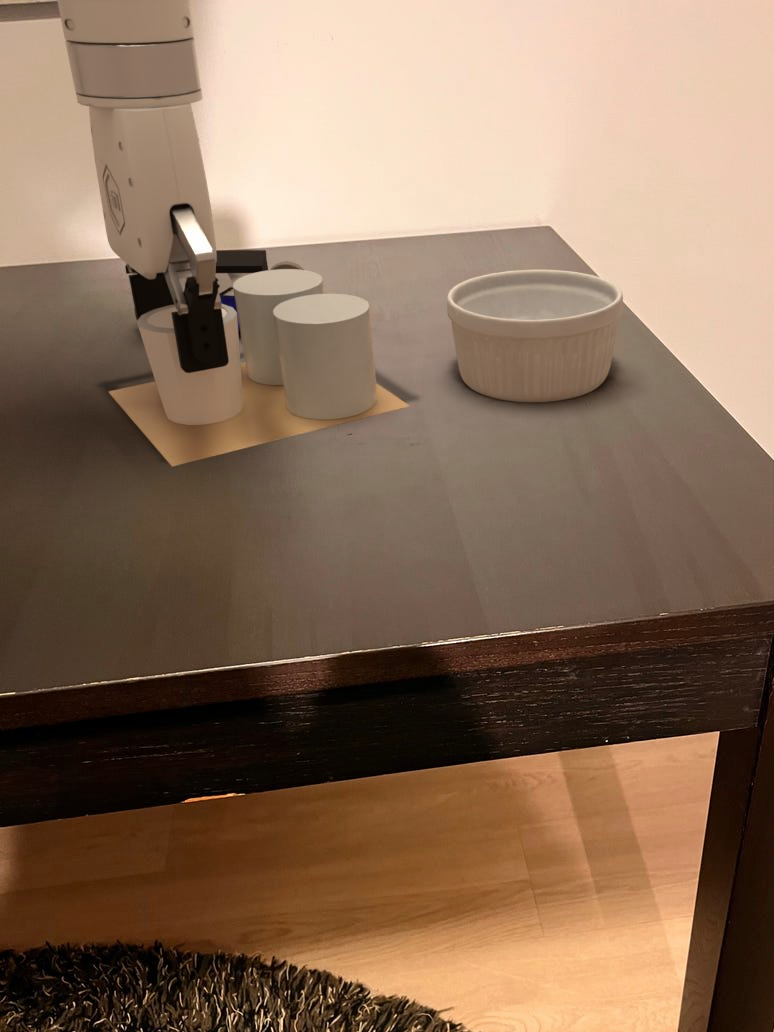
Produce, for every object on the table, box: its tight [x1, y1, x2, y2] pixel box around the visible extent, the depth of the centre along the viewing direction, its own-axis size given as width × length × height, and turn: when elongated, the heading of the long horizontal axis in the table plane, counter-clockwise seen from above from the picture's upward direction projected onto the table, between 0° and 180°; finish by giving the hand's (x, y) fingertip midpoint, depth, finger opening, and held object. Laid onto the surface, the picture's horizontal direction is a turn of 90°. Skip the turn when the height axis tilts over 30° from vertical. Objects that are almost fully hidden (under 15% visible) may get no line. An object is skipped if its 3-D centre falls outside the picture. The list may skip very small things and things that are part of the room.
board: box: [107, 361, 411, 467], centre depth 77 cm, size 18×16×1 cm
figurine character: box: [124, 249, 305, 333], centre depth 88 cm, size 7×8×15 cm
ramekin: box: [446, 269, 624, 403], centre depth 77 cm, size 13×13×7 cm
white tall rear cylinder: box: [232, 269, 325, 386], centre depth 79 cm, size 7×7×7 cm
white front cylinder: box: [273, 293, 377, 420], centre depth 73 cm, size 7×7×7 cm
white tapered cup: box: [136, 304, 243, 425], centre depth 73 cm, size 7×7×7 cm
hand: (182, 347), depth 72 cm, fingers open, 9 cm apart
